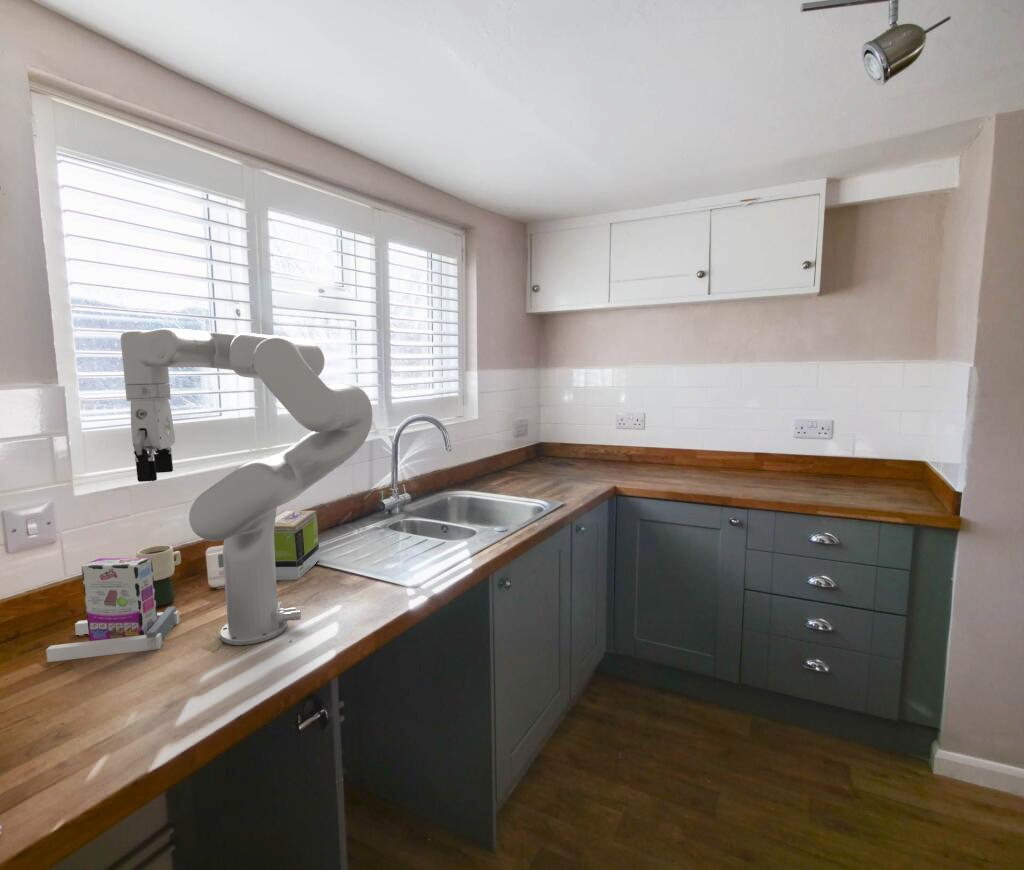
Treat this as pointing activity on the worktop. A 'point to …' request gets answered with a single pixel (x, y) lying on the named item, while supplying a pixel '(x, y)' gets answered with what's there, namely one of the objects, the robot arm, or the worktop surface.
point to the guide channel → (116, 640)
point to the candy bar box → (119, 597)
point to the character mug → (162, 570)
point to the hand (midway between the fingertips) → (156, 476)
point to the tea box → (295, 543)
